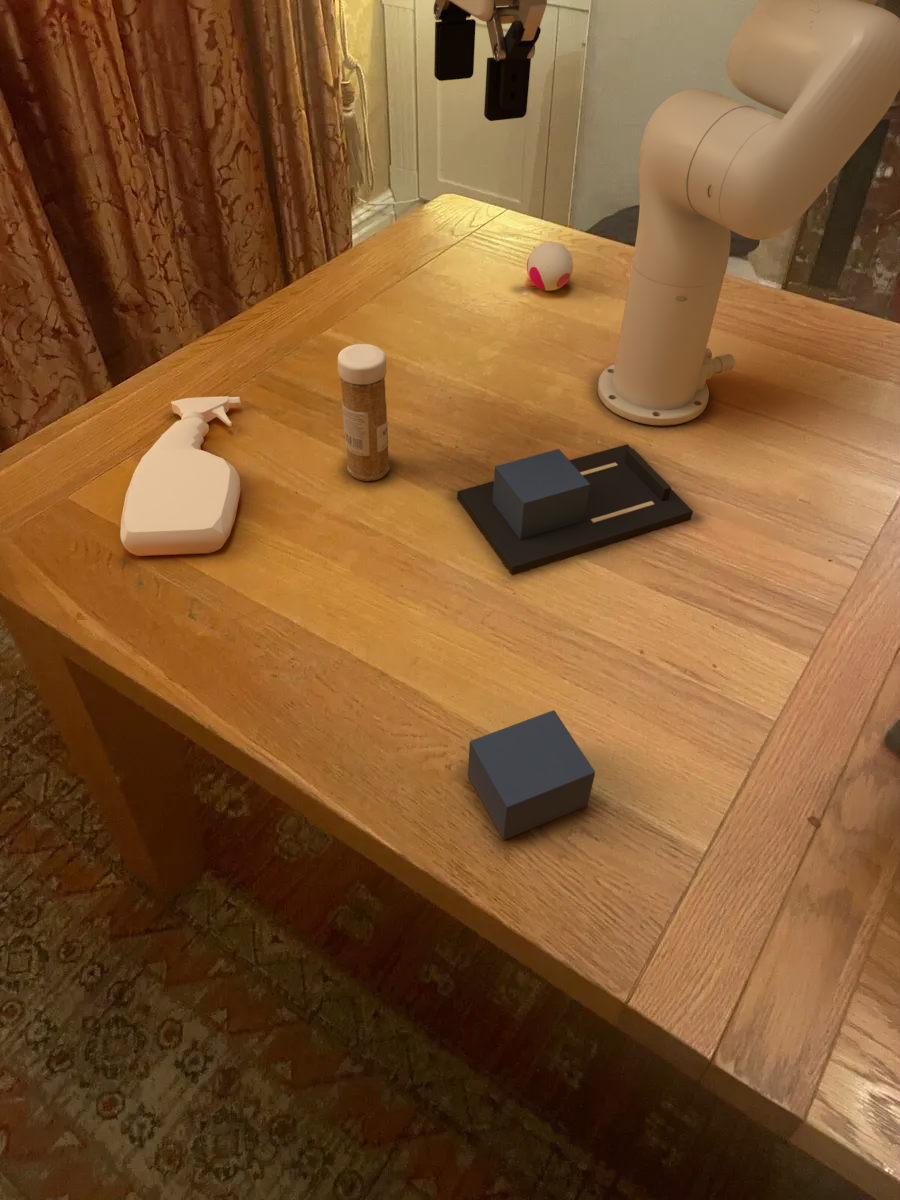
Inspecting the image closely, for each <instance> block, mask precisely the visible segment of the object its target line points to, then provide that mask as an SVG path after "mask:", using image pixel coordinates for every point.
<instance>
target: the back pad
mask: <svg viewBox="0 0 900 1200" xmlns="http://www.w3.org/2000/svg"><path fill="white" fill-rule="evenodd" d="M467 766H468V767H467V777H468V779H469V781H470V782H471V784H472V786H473V788H474V790H475V791H476V793H477V795H478V797H479V799H480V801H481V803H482V804H483V806H484V808H485V810H486V812H487V814H488V816H489V817H490V819H491V821H492V823H493V825H494V826H495V828H496V830H497V832H498V833H499V836H500V837H501V839H502V841H505V840H508V839H510V838H513V837H515V836H517V835H520V834H523V833H525V832H527V831H530V830H532V829H535V828H538V827H539V826H542V825H544V824H547V823H549V822H552V821H554V820H557V819H560V818H561V817H565V816H566V815H569V814H572V813H573V812H576V811H580V810H581V809H584V808H586V807H588V805H589V801H590V796H591V793H592V789H593V788H592V787H593V785H594V781H595V780H594V779H595V775H596V770H595V769H594V768H593V766H592V765H591V764H590V762H589V760H588V759H587V757H586V756H585V754H584V753H583V751H582V749H581V748H580V747H579V745H578V743H577V742H576V740H575V739H574V738H573V736H572V735H571V733H570V731H569V730H568V729H567V727H566V725H565V724H564V723H563V721H562V720H561V718H560V716H559V715H558V714H557V712H556V711H555V709H553V710H549V711H547V712H544V713H542V714H540V715H539V714H538V715H537V716H534V717H531V718H528V719H526V720H523V721H520V722H518V723H515V724H512V725H509V726H507V727H505V728H502V729H499V730H496V731H494V732H491V733H488V734H485V735H482V736H479V737H477V738H475V739H472V740H469V749H468V765H467Z"/></svg>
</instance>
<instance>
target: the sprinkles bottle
mask: <svg viewBox="0 0 900 1200" xmlns="http://www.w3.org/2000/svg"><path fill="white" fill-rule="evenodd" d="M337 372H338V373H337V374H338V376H339V379H340V387H341V406H342V419H343V431H344V444H345V446H346V456H347V464H346V471H347V472H348V474H349V475H350V476H351V477H353V478H354V479H356V480H360V481H363V482H370V481H371V482H372V481H377V480H379V479H382V478H383V477H385V476H386V475H387V474H388V473H389V472H390V468H391V462H390V458H389V457H390V455H389V430H388V412H387V410H388V409H387V399H386V380H385V379H386V374H387V357H386V353H385V351H384V350H383V349H382V348H380V347H379V346H377V345H374V344H369V343H355V344H351V345H348V346H346V347H344V348H343V349H341V350H340V351H339V353H338V354H337Z"/></svg>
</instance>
